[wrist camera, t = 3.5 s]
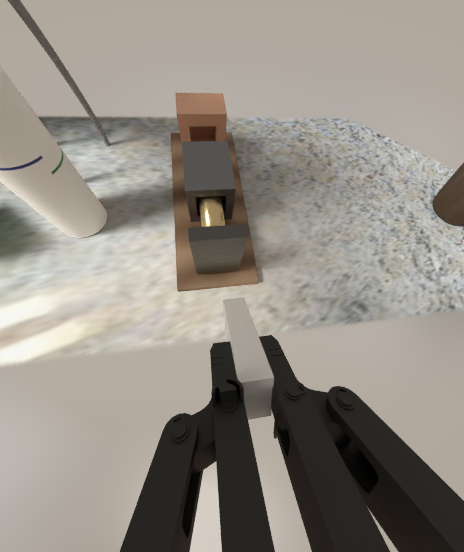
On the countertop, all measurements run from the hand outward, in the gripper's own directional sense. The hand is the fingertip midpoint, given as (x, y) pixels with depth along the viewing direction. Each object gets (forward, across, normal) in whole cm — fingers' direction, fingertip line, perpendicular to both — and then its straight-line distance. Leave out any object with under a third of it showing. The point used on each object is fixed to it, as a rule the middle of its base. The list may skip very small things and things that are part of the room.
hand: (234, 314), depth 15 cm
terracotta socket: (+34, 0, +15) cm, 37 cm away
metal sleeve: (+26, 0, +7) cm, 27 cm away
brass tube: (+21, 0, +4) cm, 22 cm away
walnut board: (+26, 0, +6) cm, 27 cm away
